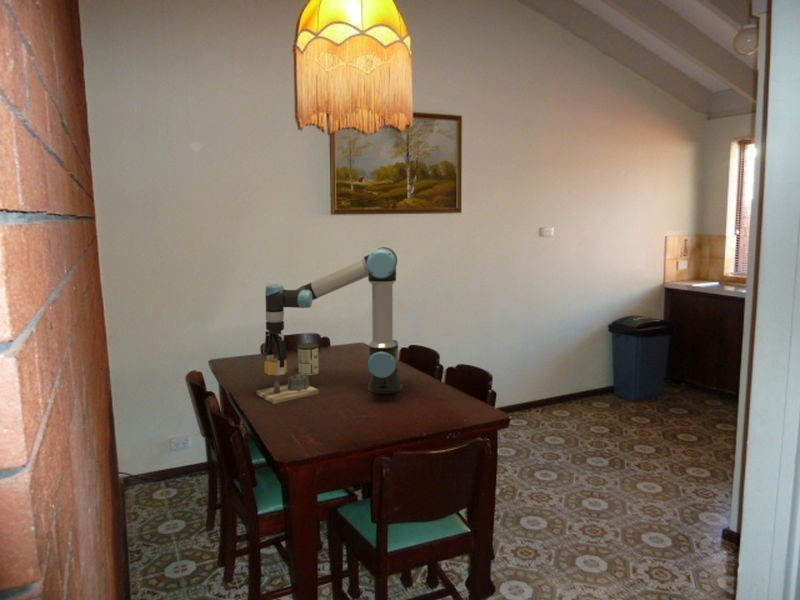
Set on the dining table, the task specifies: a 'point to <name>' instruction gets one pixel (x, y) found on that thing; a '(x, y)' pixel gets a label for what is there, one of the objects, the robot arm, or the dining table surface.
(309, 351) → the coffee can
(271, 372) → the gear
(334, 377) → the dining table surface
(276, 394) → the gear board
